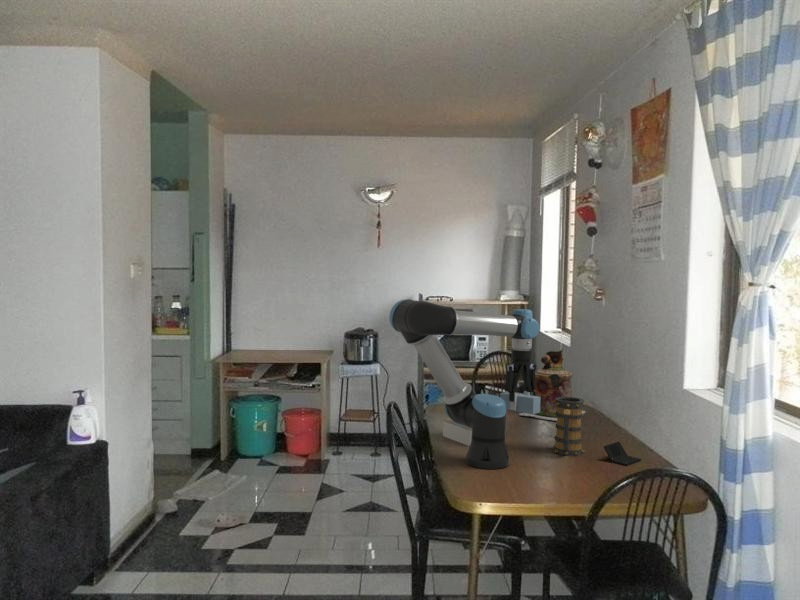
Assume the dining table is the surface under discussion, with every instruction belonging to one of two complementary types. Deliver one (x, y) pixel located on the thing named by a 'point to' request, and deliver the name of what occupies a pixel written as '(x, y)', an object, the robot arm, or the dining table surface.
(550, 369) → the cookie jar
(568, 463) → the dining table surface
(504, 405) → the robot arm
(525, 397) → the blue-gray rectangular block
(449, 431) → the stand
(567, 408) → the mug
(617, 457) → the handheld gaming console
